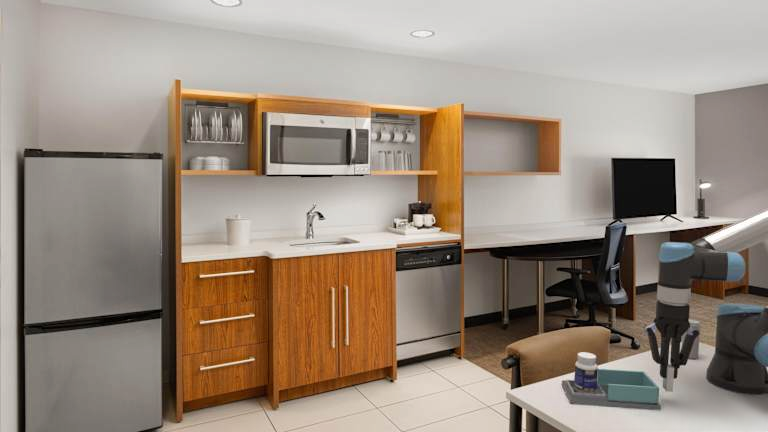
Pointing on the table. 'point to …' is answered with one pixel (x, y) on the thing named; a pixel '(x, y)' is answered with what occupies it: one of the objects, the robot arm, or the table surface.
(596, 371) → the pill bottle
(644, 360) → the table surface
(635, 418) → the table surface
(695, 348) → the beverage can
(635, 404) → the plate
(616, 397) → the housing
